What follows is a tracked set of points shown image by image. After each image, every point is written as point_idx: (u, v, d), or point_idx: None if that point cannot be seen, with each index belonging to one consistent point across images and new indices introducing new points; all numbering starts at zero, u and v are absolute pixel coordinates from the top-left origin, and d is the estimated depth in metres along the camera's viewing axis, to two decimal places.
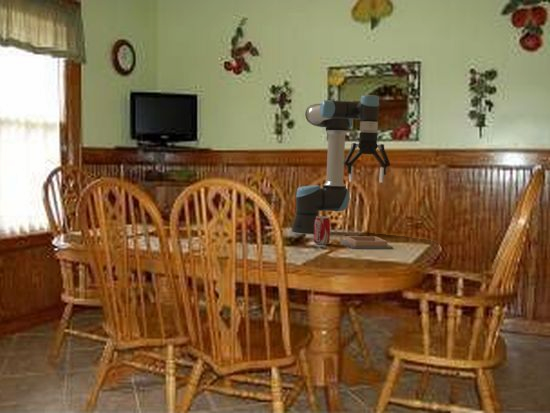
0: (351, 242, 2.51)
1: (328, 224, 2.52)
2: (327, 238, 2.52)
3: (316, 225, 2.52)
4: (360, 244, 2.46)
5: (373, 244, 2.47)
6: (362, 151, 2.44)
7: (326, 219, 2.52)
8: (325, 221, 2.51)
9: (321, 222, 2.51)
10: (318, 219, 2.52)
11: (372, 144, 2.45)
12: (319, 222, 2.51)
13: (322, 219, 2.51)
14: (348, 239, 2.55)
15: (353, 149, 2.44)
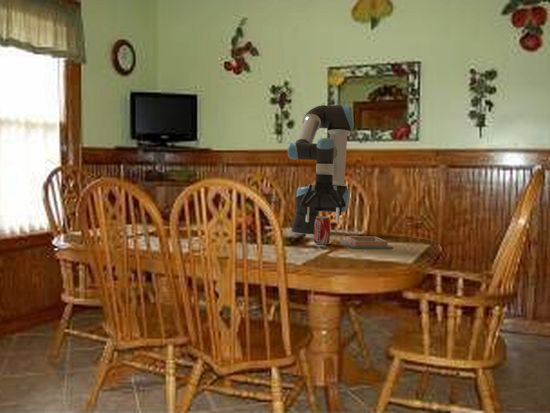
0: (351, 242, 2.51)
1: (328, 224, 2.52)
2: (327, 238, 2.52)
3: (316, 225, 2.52)
4: (360, 244, 2.46)
5: (373, 244, 2.47)
6: (318, 192, 2.51)
7: (326, 219, 2.52)
8: (325, 221, 2.51)
9: (321, 222, 2.51)
10: (318, 219, 2.52)
11: (328, 185, 2.52)
12: (319, 222, 2.51)
13: (322, 219, 2.51)
14: (348, 239, 2.55)
15: (309, 190, 2.50)
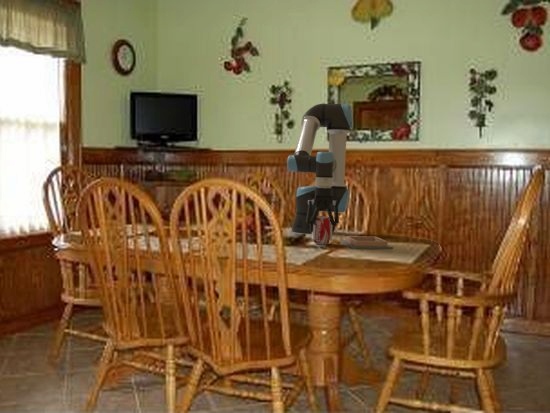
0: (351, 242, 2.51)
1: (328, 224, 2.52)
2: (327, 238, 2.52)
3: (316, 225, 2.52)
4: (360, 244, 2.46)
5: (373, 244, 2.47)
6: (319, 207, 2.51)
7: (326, 219, 2.52)
8: (325, 221, 2.51)
9: (321, 222, 2.51)
10: (318, 219, 2.52)
11: (328, 198, 2.52)
12: (319, 222, 2.51)
13: (322, 219, 2.51)
14: (348, 239, 2.55)
15: (310, 206, 2.51)
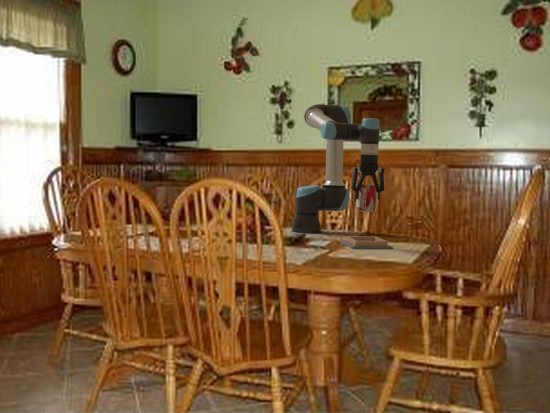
0: (351, 242, 2.51)
1: (374, 191, 2.50)
2: (373, 205, 2.50)
3: (361, 192, 2.50)
4: (360, 244, 2.46)
5: (373, 244, 2.47)
6: (365, 174, 2.50)
7: (372, 186, 2.50)
8: (371, 188, 2.49)
9: (367, 189, 2.49)
10: (364, 186, 2.50)
11: (374, 165, 2.51)
12: (365, 189, 2.49)
13: (368, 186, 2.49)
14: (348, 239, 2.55)
15: (356, 173, 2.49)
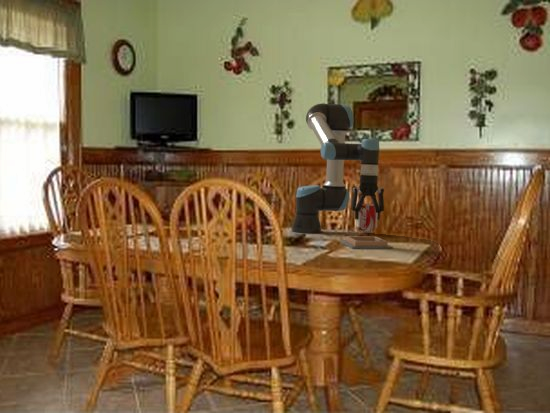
0: (351, 242, 2.51)
1: (374, 211, 2.51)
2: (373, 226, 2.51)
3: (361, 212, 2.51)
4: (360, 244, 2.46)
5: (373, 244, 2.47)
6: (364, 194, 2.50)
7: (372, 206, 2.50)
8: (371, 208, 2.50)
9: (367, 209, 2.50)
10: (363, 207, 2.51)
11: (373, 185, 2.51)
12: (365, 209, 2.50)
13: (368, 206, 2.50)
14: (348, 239, 2.55)
15: (356, 194, 2.50)
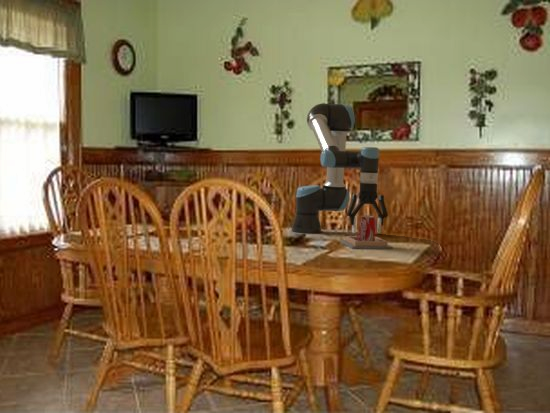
0: (351, 242, 2.51)
1: (373, 223, 2.51)
2: (372, 237, 2.52)
3: (361, 224, 2.52)
4: (360, 244, 2.46)
5: (373, 244, 2.47)
6: (363, 202, 2.51)
7: (372, 218, 2.51)
8: (371, 220, 2.50)
9: (367, 221, 2.50)
10: (363, 218, 2.51)
11: (372, 194, 2.52)
12: (364, 221, 2.51)
13: (368, 218, 2.51)
14: (348, 239, 2.55)
15: (354, 200, 2.50)
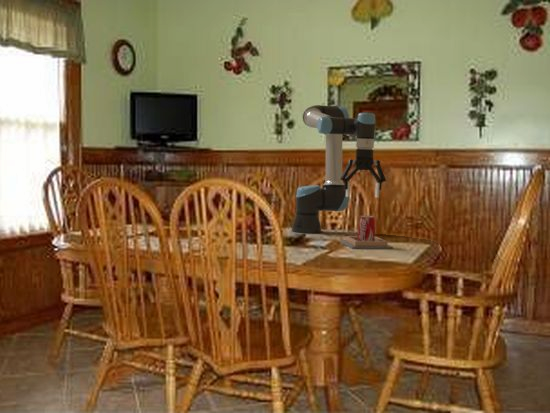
0: (351, 242, 2.51)
1: (373, 223, 2.51)
2: (372, 237, 2.52)
3: (361, 224, 2.52)
4: (360, 244, 2.46)
5: (373, 244, 2.47)
6: (358, 167, 2.51)
7: (371, 218, 2.51)
8: (370, 220, 2.50)
9: (366, 221, 2.50)
10: (363, 218, 2.51)
11: (368, 160, 2.52)
12: (364, 221, 2.51)
13: (367, 218, 2.51)
14: (348, 239, 2.55)
15: (350, 165, 2.51)
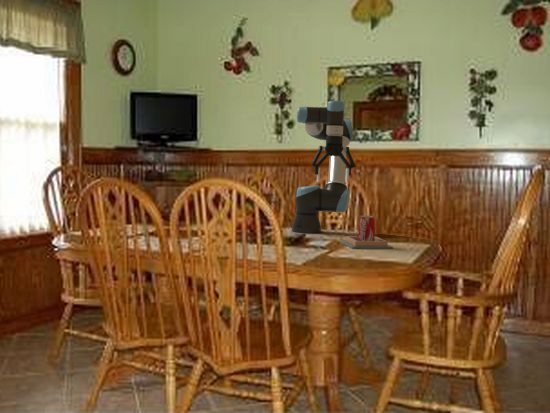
0: (351, 242, 2.51)
1: (373, 223, 2.51)
2: (372, 237, 2.52)
3: (361, 224, 2.52)
4: (360, 244, 2.46)
5: (373, 244, 2.47)
6: (328, 153, 2.61)
7: (371, 218, 2.51)
8: (370, 220, 2.50)
9: (366, 221, 2.50)
10: (363, 218, 2.51)
11: (338, 147, 2.62)
12: (364, 221, 2.51)
13: (367, 218, 2.51)
14: (348, 239, 2.55)
15: (320, 151, 2.61)
